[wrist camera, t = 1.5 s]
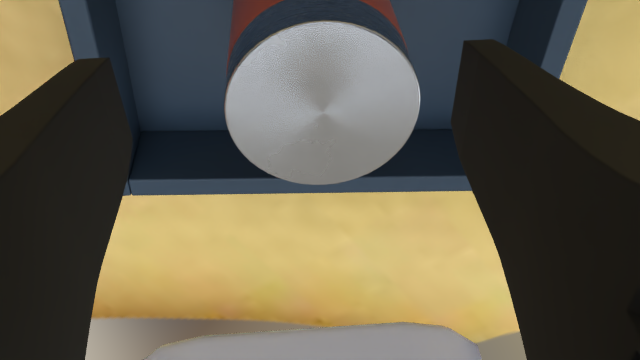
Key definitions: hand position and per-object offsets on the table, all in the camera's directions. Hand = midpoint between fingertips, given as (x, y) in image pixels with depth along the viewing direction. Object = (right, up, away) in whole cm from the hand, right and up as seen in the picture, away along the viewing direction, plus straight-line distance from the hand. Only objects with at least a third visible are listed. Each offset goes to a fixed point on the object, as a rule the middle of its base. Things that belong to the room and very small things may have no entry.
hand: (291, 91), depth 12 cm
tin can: (0, +4, +8) cm, 9 cm away
